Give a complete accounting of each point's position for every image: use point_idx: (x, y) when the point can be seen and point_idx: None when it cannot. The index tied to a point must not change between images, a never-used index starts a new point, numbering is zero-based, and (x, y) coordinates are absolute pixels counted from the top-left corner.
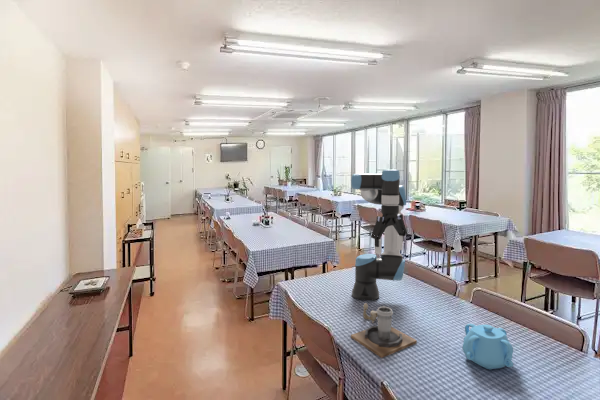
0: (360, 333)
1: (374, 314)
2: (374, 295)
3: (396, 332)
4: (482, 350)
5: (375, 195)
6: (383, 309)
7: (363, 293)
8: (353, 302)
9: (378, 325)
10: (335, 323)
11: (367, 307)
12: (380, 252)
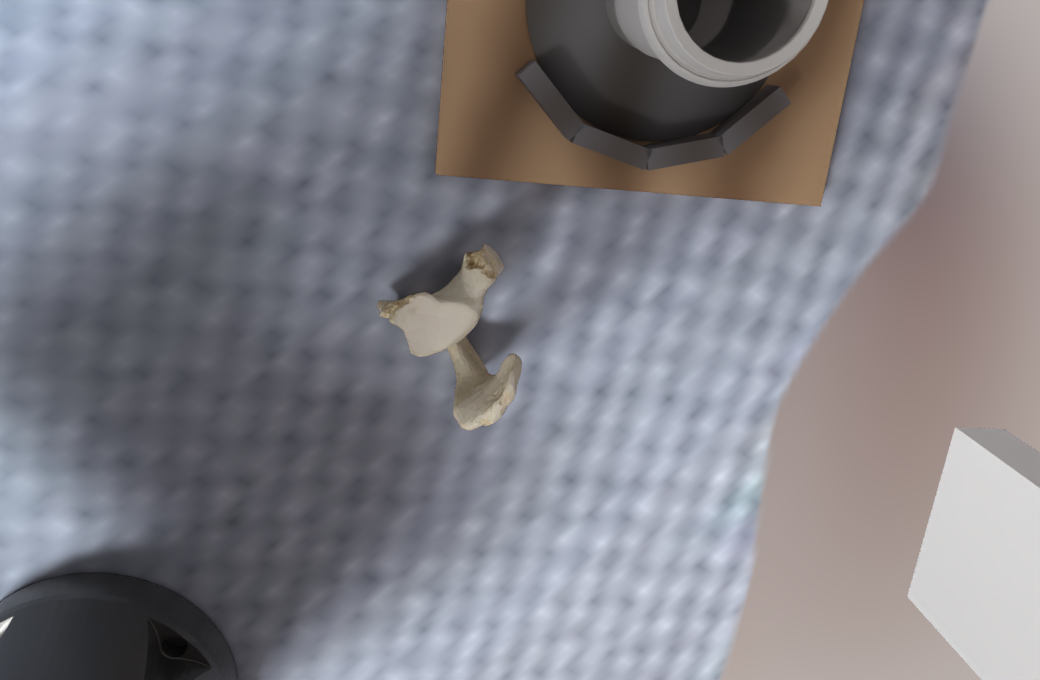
0: (748, 174)
1: (491, 269)
2: (87, 602)
3: None
4: None
5: None
6: (672, 58)
7: (179, 669)
8: (315, 631)
9: (747, 21)
10: (724, 433)
11: (516, 356)
12: (1016, 460)
